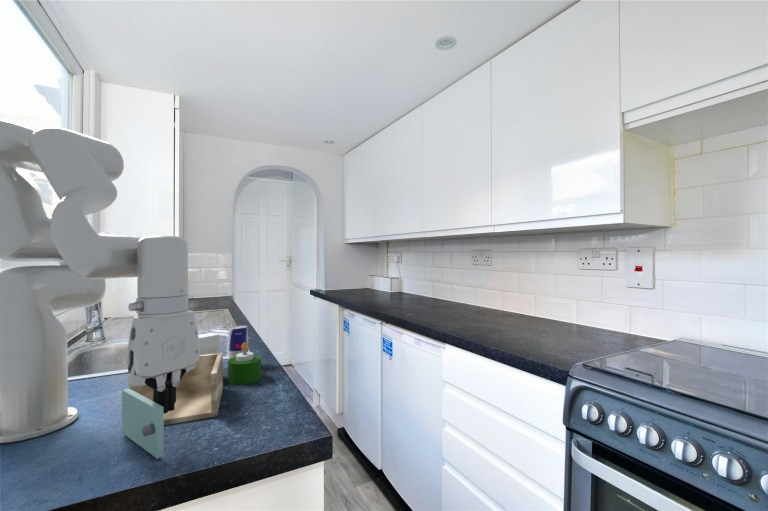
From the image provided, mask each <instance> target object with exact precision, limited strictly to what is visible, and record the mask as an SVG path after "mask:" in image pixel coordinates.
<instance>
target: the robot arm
mask: <svg viewBox="0 0 768 511" xmlns="http://www.w3.org/2000/svg"><path fill="white" fill-rule="evenodd" d="M124 166H125V162H124V158H123V156H122V154H121V152H120V151H119V149H117V148H116V147H115V145H113V144H111V143H109V142H107V141H104V140H101V139H99V138H95V137H93V136H90V135H86V134H83V133H79V132H77V131H73V130H70V129H67V128H62V127H51V126H50V127H42V128H39V129H36V128H33V127H30V126H28V125H23V124H20V123H16V122H14V121H7V120H4V119H0V259H1V260H4V261H8V262H58V263H59V265H54V264H52V265H51V264H50V265H49V264H48V265H44V264H43V265H26V266H25V265H24V266H23V265H22V266H16V267H12V268H9V269H5V270H3V271H1V272H0V444H5V443H6V444H8V443H9V444H10V443H14V442H20V441H21V442H22V441H25V440H30V439H33V438H39V437H41V436H44V435H47V434H50V433H53V432H55V431H57V430H60V429H62V428H64V427H66V426H68V425H70V424H72V423H73V422H74V421H76V420H77V418H78V417H79V410H78V409H77V408H76V407H73V406H69V402H68V401H69V400H68V399H69V394H68V393H69V388H68V387H69V386H68V385H69V384H68V383H69V382H68V381H69V380H68V377H69V376H68V374H69V373H68V372H69V371H68V333H67V330H66V327H65V326H64V325H63V324H62V322H61V321H59V319H58V318H57V317H56V316H55V315H54V313H56V312H61V311H68V310H69V311H71V310H74V309H75V310H77V309H81V308H88V307H92V306H94V305H96V304H99V303H100V301H102V299H103V298H104V296H105V294H106V287H107V286H106V279H108V280H109V279H121V278H123V279H124V278H125V279H127V278H137V297H136V298H135V302H130V303H129V304H128V311H129V312H135V313H136V314H137V316H133V319H132V323H131V326H130V329H129V330H130V331H129V337H128V346H127V347H128V348H127V360H126V361H127V371H128V373H129V377H128V380H127V383H128V386H129V385H132V386H142V385H147V386H148V387H150V388H151V389H153V402H155V403H157V404H159V405H161V406H163V413H164V414H165V413H167V412H168V411H173V410H174V409H175V402H176V387H177V386H178V385H179V382H180V379H181V378H182V377H183V375H184V374H185V373H186V372H188V371H190V370H192V369H194V368H195V367H196V363H197V362H198V361H199V357H200V349H199V337H198V335H199V331H198V325H197V324H198V323H197V321H196V316H195V312H194V311H193V310H189V247H188V242H187V241H186V239H184V238H183V237H180V236H175V235H174V236H173V235H148V236H134V235H133V236H130V235H121V234H103V233H102V234H100V233H97V232H96V231H95V230H94V228H93V227H92V225H91V224H90V221H88V219H87V217H86V216H88V215H91V214H95V213H97V212H101V211H102V210H105V209H107V208H108V207H110V206H111V205H112V204H113V203H114V202H115V201H116V199H117V197H118V190H117V187H116V185H115V184H114V183H113V182H114V181H116V180H117V179H118V178H120V177H121V176H122V174H123V171H124ZM17 168H19V169H24V170H28V171H34V172H38V173H43V175H44V176H45V178H46V179H47V181H48V182H49V185H51V187H52V189H53V191H54V192H55V194H56V195H57V197H58V198H59V200H60V201H59V202H58V203H57V204H56V206H55V208H54V209H53V211H52V214H51V215H48V213H46V210H45V208H44V205H43V202H42V200H43V199H42V197H41V194H40V193H39V190H37V188H36V187H35V186H34V185H33V184H32V182H31V181H29V179H27V177H25V176H24V175H23V174H21V173H20V171H18V169H17ZM164 374H165V379H164V376H163V375H164Z"/></svg>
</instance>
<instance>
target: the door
mask: <svg viewBox="0 0 768 511" xmlns="http://www.w3.org/2000/svg"><path fill="white" fill-rule="evenodd" d="M121 390H122V391H121V403H122V404H121V407H122V408H121V409H122V410H121V412H122V413H121V414H122V416H121V417H122V418H121V420H122V421H121V422H122V423H121V424H122V425H121V426H122V429H121V430H122V431H121V432H122V434H123V435H124V436H126V437H127V438H129V440H131V441H132V442H134V443H136V444H137V445H138V446H140V447H141V448H142V449H143V450H145V451H146V452H147V453H149V454H151V455H152V456H153V457H154V458H156V459H157V460H158V459H159V458H162V457H164V455H165V443H164V442H165V438H164V437H165V436H164V432H165V431H164V429H165V428H164V426H165V425H164V414H163V406H161V405H159V404H157V403H155V402H153V401H152V400H150V399H148V398H146V397H144V396H142V395H140V394H138V393H137V392H135V391H133V390H131V389H129V387H128V388H123V389H121Z"/></svg>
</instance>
